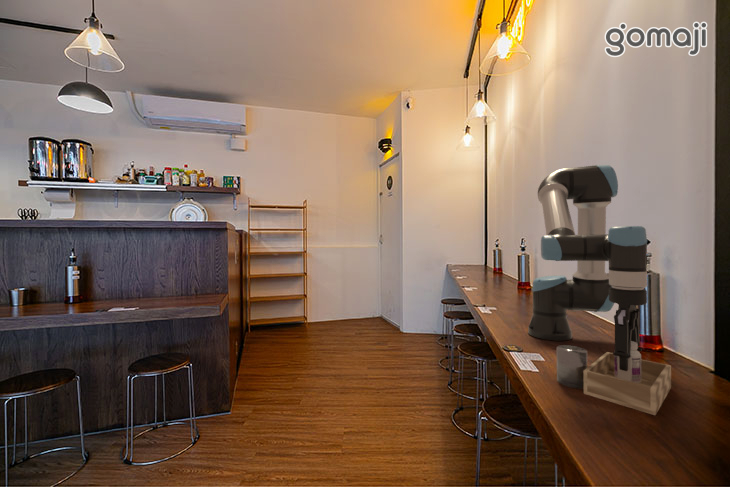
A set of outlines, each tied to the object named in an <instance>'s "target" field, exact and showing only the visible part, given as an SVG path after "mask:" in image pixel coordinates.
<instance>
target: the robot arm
mask: <svg viewBox="0 0 730 487" xmlns="http://www.w3.org/2000/svg"><path fill="white" fill-rule="evenodd" d="M537 189H538V190H537V198H538V201H539V202H540V204H541V205H542V206H541V207H542V211H543V219H544V225H545V233H546V235H542V237H541V238H540V255H541V258H542V259H543V260H545V261H554V262H555V261H556V262H562V261H563V262H566V261H567V262H568V261H569V262H570V261H572V262H573V261H575V262H576V261H577V268H576V272H574V273H573V274H572V279H567V276H565V275H547V276H545V275H544V276H540V277H536V278H534V279H533V281H532V289H531V291H532V315H531V319H530V321H529V324H528V327H527V329H528V330H527V331H528V332H527V333H528V335H530V336H532V337H534V338H537V339H542V340H547V341H555V342H556V341H559V342H560V341H561V342H562V341H569V340H571V339H573V331H572V328H571V325H570V323H569V320H568V317H567V311H580V312H593V313H597V312H599V313H608V312H610V311H611V310H612V309H613V308H614V305H615V304H617V305H618V309H616V310H615V314H614V316H613V320H614V322H613V323H614V351H615V352H612V353H613V355H616V356H617V378H619V379H623V380H627V381H630V382H632V357H631V355H630V352H631V341H634V342H636V343H637V344H638V349H637V351H639V352H642V349H643V348H642V347H640V346H641V343H640V313H641V310H640V308H637V306H644V305H647V303H648V291H647V290H646V289H645V288H647V287H648V272H647V267H648V266H647V264H648V263H647V262H648V261H647V254H648V253H647V250H648V249H647V246H648V244H647V243H648V238H647V229H646V228H645V227H644V226H642V225H641V226H640V225H627V226H611V227H609V229H608V233H607V234H606V231H607V229H606V226H607V225H606V224H607V220H606V219H607V207H608V206H609V205H610V204H611V203H612V198H615V197H617V195H618V190H619V182H618V177H617V173H616V171H615V169H614V168H613V167H612V166H611V165H607V164H601V165H600V164H599V165H597V164H595V165H588V166H577V167H569V168H568V167H566V168H565V167H563V168H560V169H556V170H555V171H553V172H551V173H550V174H548V175H547V176H546V177H544V179H543V180H542V181H541V182H540V184H539V186H538V188H537ZM567 200H572V205H573V206H574V207H576V208H577V234H576V233H575V227H574V225H573V220H572V216H571V213H570V212H571V211H570V208H569V205H568V201H567ZM606 262H608V272H607V273H606Z"/></svg>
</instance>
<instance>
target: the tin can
mask: <svg viewBox="0 0 730 487" xmlns="http://www.w3.org/2000/svg"><path fill="white" fill-rule="evenodd" d="M587 367H588V350H587V349H585V348H582V347H579V346H575V345H568V344H567V345H566V344H562V345H561V344H560V345H558V346H556V381H557V382H558V384H560V385H562V386H563V387H564V386H565V387H567V388H571V389H584V370H585V369H586V368H587Z"/></svg>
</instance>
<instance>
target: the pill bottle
mask: <svg viewBox="0 0 730 487" xmlns="http://www.w3.org/2000/svg"><path fill="white" fill-rule="evenodd" d="M638 347H639V346H638V344H637V343H636V342H634V341H631V352H630V355H631V357H632V382H634V383H641V359H642V354H641V353H640V352H641V351H637V349H638ZM614 352H615V350H614ZM614 364H615V365H614V368H615V377H616V378H617V356H616V355H614Z"/></svg>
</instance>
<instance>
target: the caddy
mask: <svg viewBox="0 0 730 487" xmlns="http://www.w3.org/2000/svg"><path fill="white" fill-rule="evenodd" d="M614 365H615V364H614V355H613V352H609V351H607V352H605V353H604V354H602V355H601V356H600V357H598V358H597V359H596V360H595V361H594V362H593V363H591V364H589V366H587V368H586V369H585V370H584V388H583V394H584V395H587V396H591V397H594V398H596V399H600V400H603V401H607V402H610V403H613V404H616V405H620V406H623V407H627V408H628V409H629V408H630V409H633V410H636V411H639V412H642V413H647V414H649V415H651V416H652V415H653V416H656V415H657V413H658V412H659V410H660V409H661V407H662V405H663V403H664V401H665V399H666V398H667V396H668V394H669V393H670V390H671V389H672V365H670V364H665V363H661V362H656V361H652V360H648V359H647V360H646V359H642V358H641V383H634V382H630V381H627V380H623V379H619V378H616V377H615V368H614Z"/></svg>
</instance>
